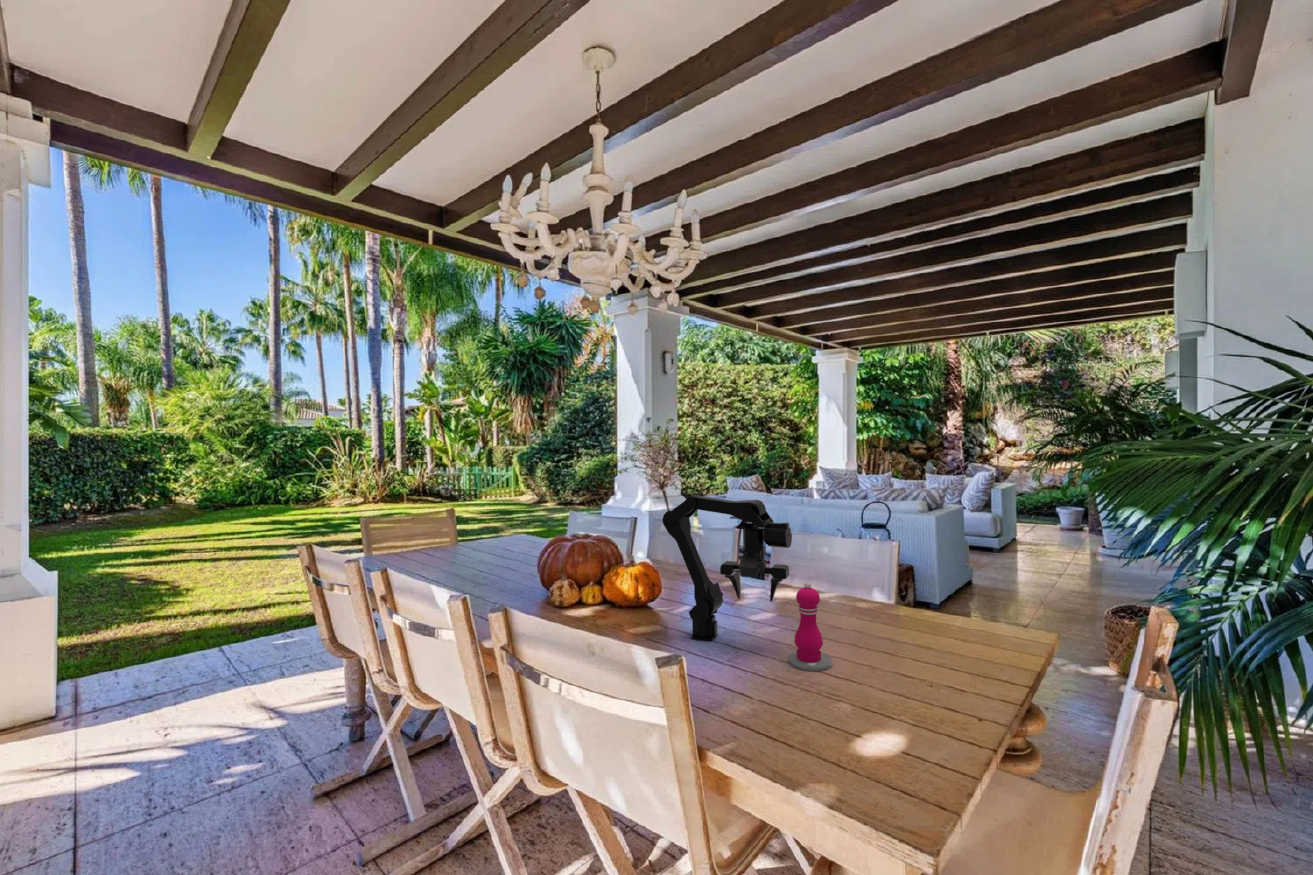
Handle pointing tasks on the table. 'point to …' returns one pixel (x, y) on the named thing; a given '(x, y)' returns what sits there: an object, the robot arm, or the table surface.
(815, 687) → the table surface
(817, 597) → the pepper mill
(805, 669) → the slate coaster
